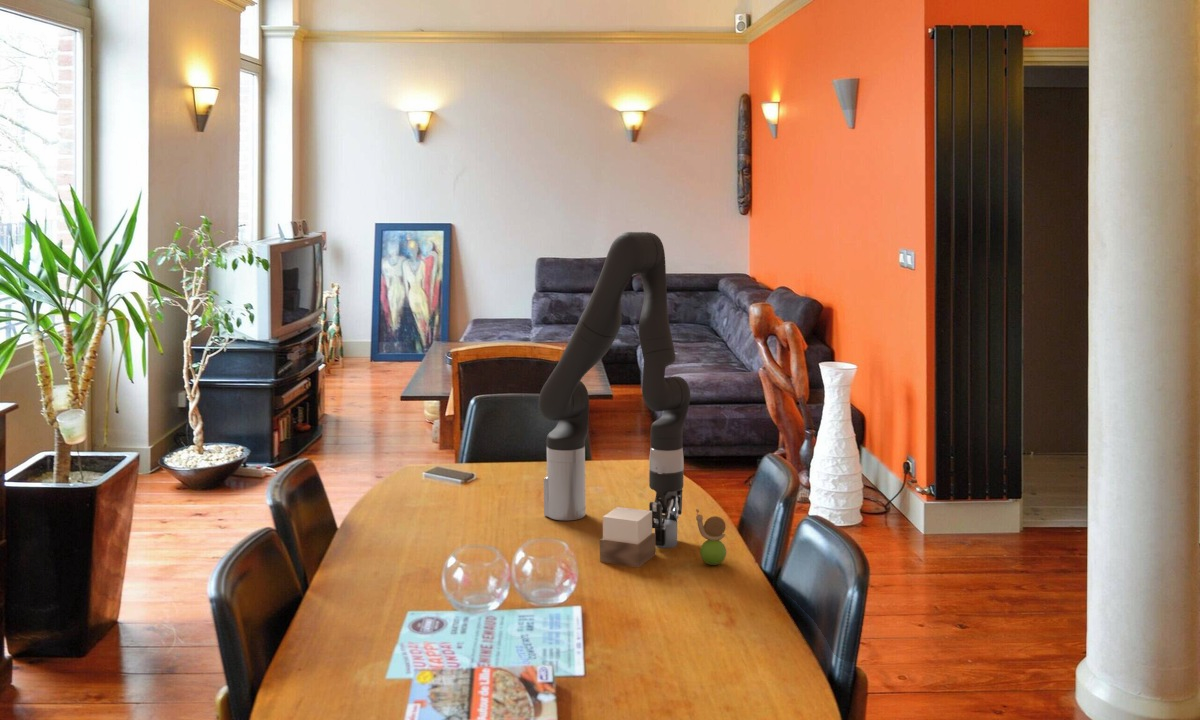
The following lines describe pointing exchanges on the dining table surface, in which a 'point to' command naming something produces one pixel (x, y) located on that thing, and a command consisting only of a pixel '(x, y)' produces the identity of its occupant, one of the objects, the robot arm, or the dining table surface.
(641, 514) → the tower top
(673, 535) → the grey blue cylinder
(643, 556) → the tower base
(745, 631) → the dining table surface
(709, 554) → the snail figurine
